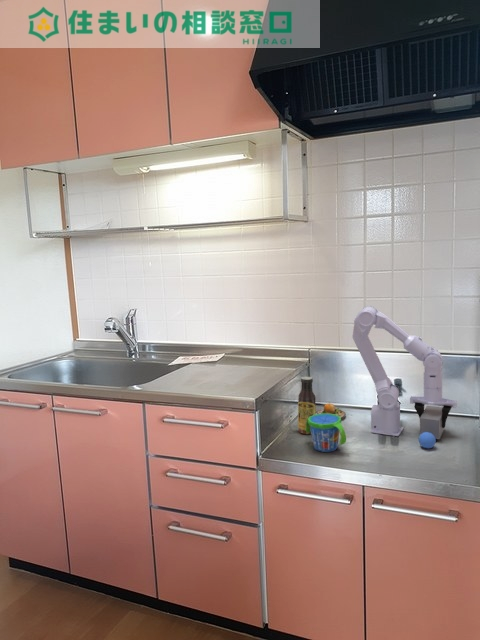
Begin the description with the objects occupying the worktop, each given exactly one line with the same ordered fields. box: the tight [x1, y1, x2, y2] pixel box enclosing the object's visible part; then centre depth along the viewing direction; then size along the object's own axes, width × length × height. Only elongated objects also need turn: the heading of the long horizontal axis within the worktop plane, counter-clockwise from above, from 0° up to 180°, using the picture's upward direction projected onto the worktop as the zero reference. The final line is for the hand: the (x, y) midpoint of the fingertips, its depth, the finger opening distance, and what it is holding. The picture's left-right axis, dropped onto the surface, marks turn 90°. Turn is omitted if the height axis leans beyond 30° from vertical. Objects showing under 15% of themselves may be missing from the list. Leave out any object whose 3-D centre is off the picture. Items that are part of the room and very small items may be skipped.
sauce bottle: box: [297, 376, 317, 435], centre depth 174 cm, size 7×6×20 cm
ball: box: [418, 432, 437, 449], centre depth 156 cm, size 5×5×5 cm
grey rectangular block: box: [419, 405, 446, 440], centre depth 166 cm, size 6×12×6 cm, turn 149°
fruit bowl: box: [316, 401, 347, 421], centre depth 189 cm, size 12×12×8 cm
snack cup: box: [305, 413, 347, 453], centre depth 160 cm, size 16×10×10 cm
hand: (433, 425), depth 166 cm, fingers closed on grey rectangular block, 6 cm apart
